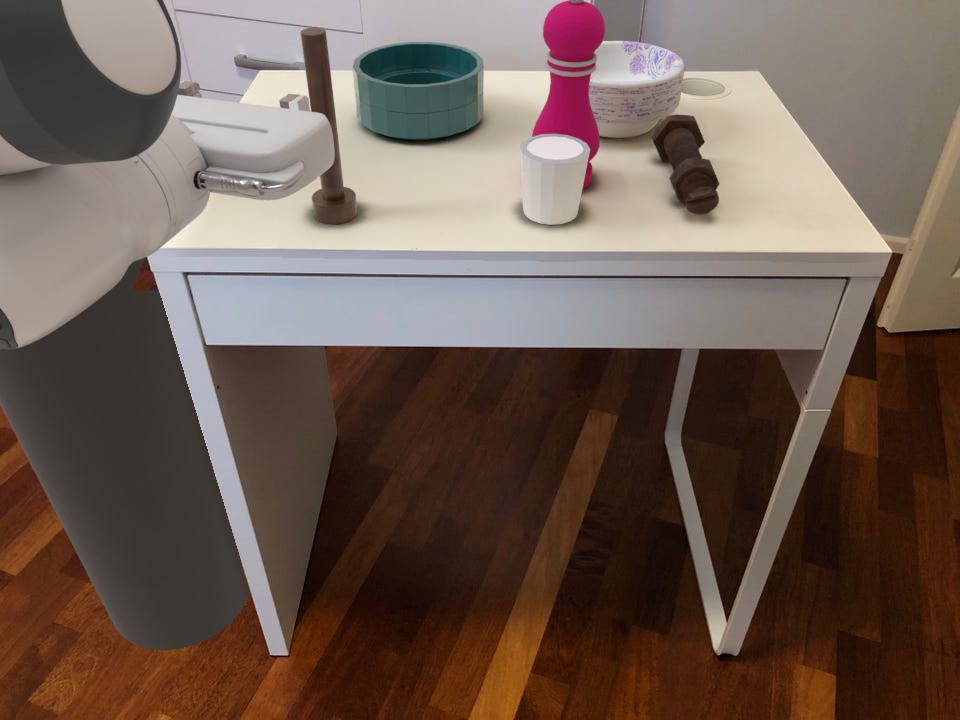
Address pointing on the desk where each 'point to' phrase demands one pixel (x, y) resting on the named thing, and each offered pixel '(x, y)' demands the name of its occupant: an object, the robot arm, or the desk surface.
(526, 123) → the desk surface
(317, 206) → the muddler
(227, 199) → the desk surface
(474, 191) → the desk surface
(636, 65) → the paper bowls
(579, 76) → the pepper mill
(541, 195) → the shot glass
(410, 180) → the desk surface
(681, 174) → the bolt
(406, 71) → the bowl
